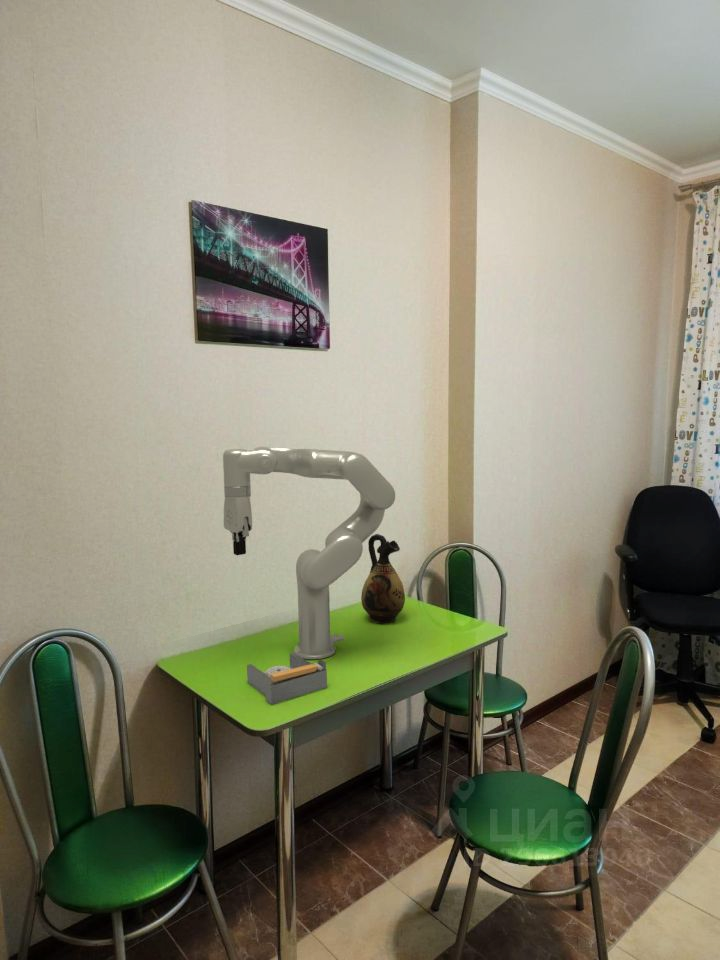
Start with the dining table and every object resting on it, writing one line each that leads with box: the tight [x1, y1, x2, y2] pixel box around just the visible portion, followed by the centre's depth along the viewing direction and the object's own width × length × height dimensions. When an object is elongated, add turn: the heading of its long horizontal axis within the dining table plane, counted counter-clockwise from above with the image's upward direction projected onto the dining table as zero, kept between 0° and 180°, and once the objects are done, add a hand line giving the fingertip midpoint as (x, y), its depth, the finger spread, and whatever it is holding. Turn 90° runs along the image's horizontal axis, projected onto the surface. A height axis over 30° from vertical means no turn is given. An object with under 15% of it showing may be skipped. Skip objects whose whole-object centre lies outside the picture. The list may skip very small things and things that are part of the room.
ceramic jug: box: [360, 533, 406, 625], centre depth 224 cm, size 17×15×30 cm
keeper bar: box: [270, 662, 323, 682], centre depth 167 cm, size 14×3×1 cm, turn 126°
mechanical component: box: [264, 665, 292, 677], centre depth 173 cm, size 10×4×10 cm
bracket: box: [246, 652, 328, 706], centre depth 172 cm, size 17×16×7 cm
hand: (239, 554), depth 187 cm, fingers closed
